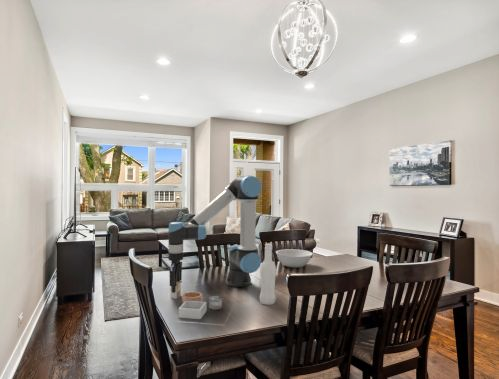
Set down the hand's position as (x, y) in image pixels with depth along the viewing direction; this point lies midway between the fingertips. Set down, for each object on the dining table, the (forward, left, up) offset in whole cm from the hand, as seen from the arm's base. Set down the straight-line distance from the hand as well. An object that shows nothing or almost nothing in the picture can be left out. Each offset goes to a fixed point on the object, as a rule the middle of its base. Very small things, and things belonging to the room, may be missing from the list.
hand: (175, 296), depth 176 cm
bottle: (-48, -2, -1) cm, 48 cm away
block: (0, 0, 0) cm, 0 cm away
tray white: (-16, +21, -1) cm, 26 cm away
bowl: (-61, -83, -1) cm, 103 cm away
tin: (-24, +11, -1) cm, 26 cm away
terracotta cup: (-12, +9, -1) cm, 15 cm away
